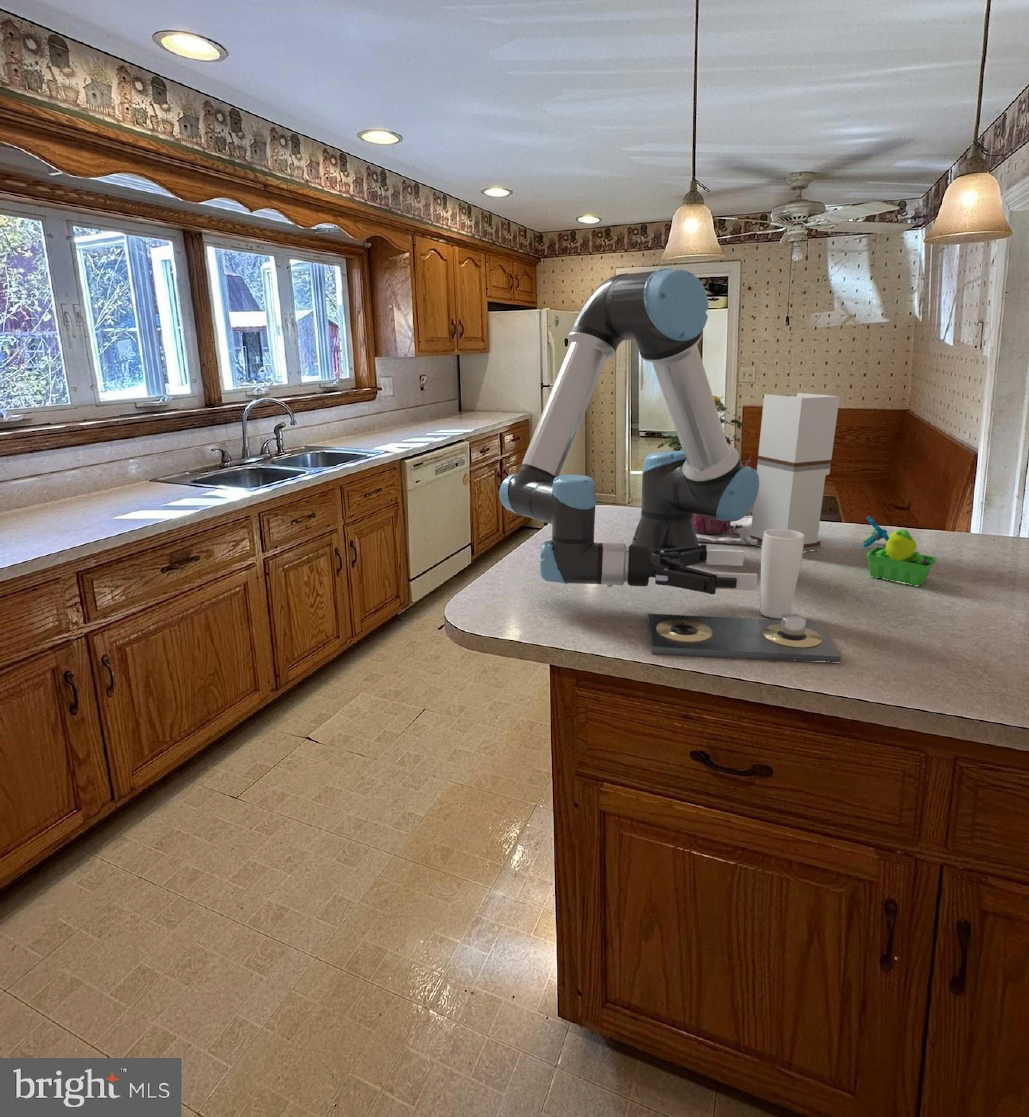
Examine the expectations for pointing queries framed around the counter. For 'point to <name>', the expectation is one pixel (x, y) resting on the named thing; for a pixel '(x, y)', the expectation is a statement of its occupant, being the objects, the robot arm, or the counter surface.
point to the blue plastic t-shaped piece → (875, 533)
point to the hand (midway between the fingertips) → (749, 569)
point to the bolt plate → (740, 638)
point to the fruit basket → (900, 560)
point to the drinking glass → (779, 570)
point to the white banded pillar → (794, 464)
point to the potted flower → (711, 524)
